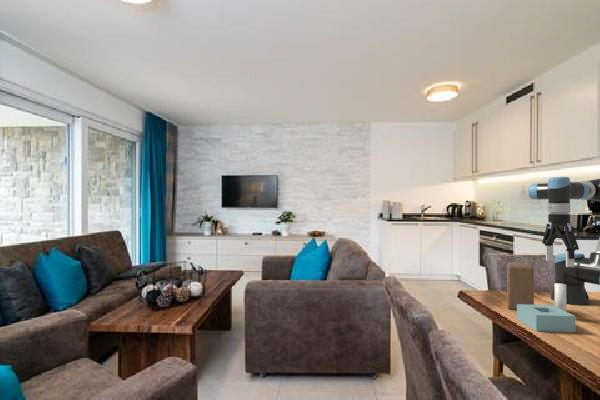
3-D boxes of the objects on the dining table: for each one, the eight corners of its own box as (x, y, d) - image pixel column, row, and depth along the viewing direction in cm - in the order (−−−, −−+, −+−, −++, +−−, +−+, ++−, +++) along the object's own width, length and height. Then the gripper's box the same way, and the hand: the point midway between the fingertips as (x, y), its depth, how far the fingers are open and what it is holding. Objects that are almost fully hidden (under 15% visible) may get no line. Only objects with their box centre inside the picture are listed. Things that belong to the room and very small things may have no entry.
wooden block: (533, 312, 154) (533, 267, 154) (507, 309, 160) (507, 265, 160) (533, 306, 163) (532, 263, 163) (508, 303, 168) (507, 262, 168)
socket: (552, 319, 146) (552, 305, 146) (575, 332, 132) (575, 316, 132) (517, 318, 147) (516, 304, 147) (536, 331, 133) (536, 315, 133)
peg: (562, 315, 150) (562, 283, 150) (568, 319, 146) (568, 285, 146) (552, 315, 151) (552, 283, 151) (558, 318, 147) (558, 285, 147)
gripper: (533, 212, 161) (533, 258, 161) (569, 214, 137) (569, 269, 137) (550, 212, 161) (550, 258, 161) (589, 214, 136) (590, 269, 136)
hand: (559, 263), depth 149 cm, fingers open, 13 cm apart
